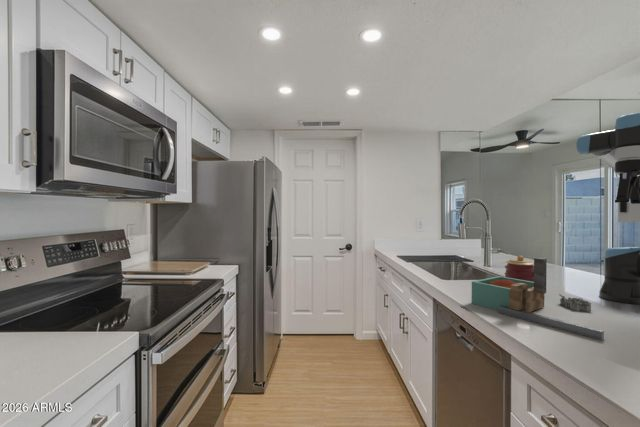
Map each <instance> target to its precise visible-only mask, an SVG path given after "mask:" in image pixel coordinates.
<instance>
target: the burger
mask: <svg viewBox="0 0 640 427" xmlns="http://www.w3.org/2000/svg"><path fill="white" fill-rule="evenodd" d="M490 284H491V285H496V286H501V287H506V288H511V285H513V284H517V283H516V282H513V281H510V280H495V281H493V282H491V283H490Z"/></svg>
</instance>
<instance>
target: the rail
mask: <svg viewBox="0 0 640 427" xmlns="http://www.w3.org/2000/svg"><path fill="white" fill-rule="evenodd" d="M497 311H498V312H497V313H498V314H500V315H505V316H509V317H513V318H515V319H519V320H520V319H521V320H524V321H528V322H531V323H535V324H539V325H542V326H546V327H550V328H555V329H558V330H560V331H565V332H569V333H572V334H576V335H580V336H583V337H587V338H591V339H594V340H599V341H603V340H604V339H605V330H603V329H600V328H595V327H591V326H587V325H583V324H578V323H574V322H569V321H566V320H562V319H558V318H553V317H550V316H546V315H542V314H537V313H533V312H526V311H522V310H514V309H510V308H509V307H505V306H498V310H497Z"/></svg>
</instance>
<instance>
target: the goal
mask: <svg viewBox="0 0 640 427" xmlns="http://www.w3.org/2000/svg"><path fill="white" fill-rule="evenodd" d="M495 280H510V281H513V282H516V283H525V284H526V285H528V289H529V288H532V287H534V282H531V281H525V280H519V279H513V278H507V277H505V276H501V275H497V276H493V277H489V278H483V279H478V280H473V281H471V304H473V305H477V306H480V307H485V308H488V309H492V310H496V311H498V306H505V307H509V289H511V288H506V287H501V286H496V285H491V284H490V283H491V282H493V281H495Z"/></svg>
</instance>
